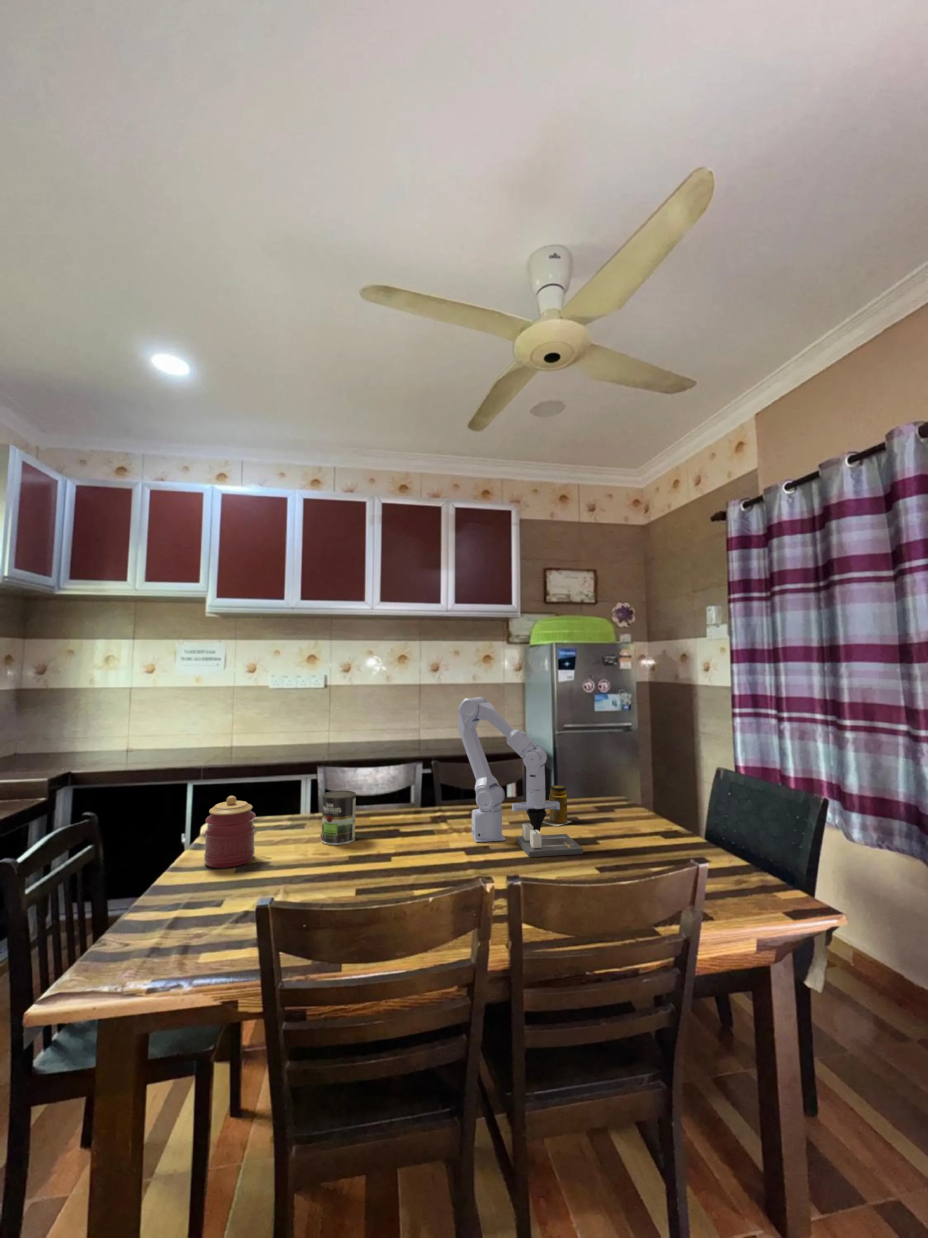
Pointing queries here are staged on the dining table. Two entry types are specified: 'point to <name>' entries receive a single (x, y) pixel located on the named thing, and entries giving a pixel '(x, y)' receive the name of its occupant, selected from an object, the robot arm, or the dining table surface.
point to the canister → (229, 834)
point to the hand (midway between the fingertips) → (536, 834)
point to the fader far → (526, 831)
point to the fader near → (535, 839)
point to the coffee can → (338, 817)
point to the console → (551, 846)
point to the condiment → (560, 815)
